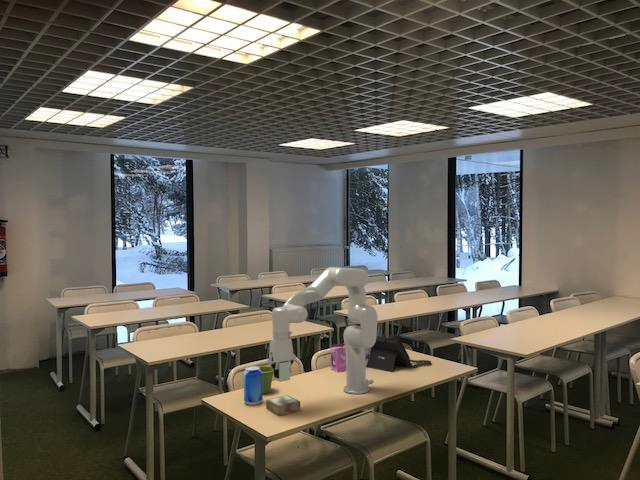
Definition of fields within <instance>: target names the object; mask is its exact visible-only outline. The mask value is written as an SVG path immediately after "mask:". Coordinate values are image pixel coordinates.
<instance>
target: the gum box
mask: <svg viewBox="0 0 640 480" xmlns="http://www.w3.org/2000/svg"><path fill="white" fill-rule="evenodd" d="M364 350H365V357H366V366H367V363H368V360H369V357H370V350H371V349H370V348H368V349H366V348H364ZM331 368H332V369H333V370H335V371H334V372H336V371H337V372H336V373H340V372H339V371H342V372H345V371H344V370H346V348H345V343H340V344H333V345H330V369H331ZM333 370H332V371H333Z"/></svg>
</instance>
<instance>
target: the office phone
mask: <svg viewBox="0 0 640 480" xmlns="http://www.w3.org/2000/svg"><path fill="white" fill-rule="evenodd" d="M400 339H401V338H399V336H398V335H397V334H394V333H391V334H389V336H388V337H387V336H379V335H377V336H376V342H375V344H374V346H373V347H371V348H370V357H369V360H368V363H367V366H368V367H367V368H372V369H377V370H382V371H387V372H392V373H393V371H394V368H395V367H394V366H395V365H399V366H404V367H407V368H412V369H413V368H414V369H415V368H417V367H422V366H429V365H431V364H432V361H431V360H428V359H427V360H426V359H419V360H415V359H410V358H411V357H410V355H409V354H408V352H407V350H406V348H405V347H404V344H403V343H402V341H401V340H400ZM412 363H415V364H412Z"/></svg>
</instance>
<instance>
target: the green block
mask: <svg viewBox="0 0 640 480" xmlns="http://www.w3.org/2000/svg"><path fill="white" fill-rule="evenodd" d="M278 364H279V365H278V369H279V378H278V379H277V378H275V377H274V380H276V381H278V382H280V383H281V382H286V381H287V382H288V381H290V380H291V373H290V370H291V367H290V362H289V361H285V362H279V363H278Z"/></svg>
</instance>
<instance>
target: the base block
mask: <svg viewBox="0 0 640 480" xmlns="http://www.w3.org/2000/svg"><path fill="white" fill-rule="evenodd" d="M265 406H266V407H265V409H266V410H267V411H269V412H271V413H272V414H274V415H276V416H278V417H280V416H285V415H288V414H292V413H295V412H299V411H301V401H300V400H298V399H296V398H295V397H292V396H290V395H288V394H285V395H282V396H278V397H274V398H270V399H266V400H265Z"/></svg>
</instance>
